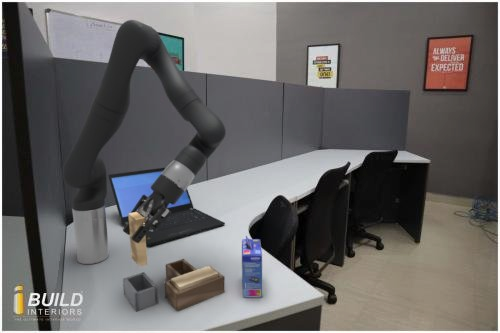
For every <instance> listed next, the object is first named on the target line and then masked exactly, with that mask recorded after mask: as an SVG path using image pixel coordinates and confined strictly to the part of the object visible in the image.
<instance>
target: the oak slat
mask: <svg viewBox="0 0 500 333" xmlns="http://www.w3.org/2000/svg"><path fill="white" fill-rule="evenodd" d="M128 217H129V229H130V235H129V240H130V242H129V243H130V253H131V254H130V256H131V259H132V260H133V261H134V262H135V264H137V266H138V267H142V266H145V265H148V254H147V251H148V250H147V245H146V236H144V237H143V238H142V240H141V241H140V242H139V243H136V242H135V241H133V240H132V239H131V237H132V236H133V234H134V233H135V232H136V231H137V230H138V228H139V227H140V226H142V223H143V221H144V217H142V216H141V215H140V214H139V213H137V212H133V213H128Z"/></svg>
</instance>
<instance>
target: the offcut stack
mask: <svg viewBox="0 0 500 333" xmlns="http://www.w3.org/2000/svg"><path fill="white" fill-rule="evenodd" d="M210 266H211V265H208V266H203V267H202V268H198V269H197V270H195V271H192V272H189V273H186V274H183V275H181V276H178V277H175V278H172V279H171V285H172V286H173V287H174V288H175V289H176V290H177V291H178V292H180V291H182V290H185V289H188V288H191V287H193V286H196V285H199V284H201V283H204V282H207V281H209V280H212V279H215V278H217V277H218V272H219V271H218V272H216V271H217V270H216V269H215V268H214V269H215V270H216V271H215V270H214V269H212V268H213V267H212V266H211V267H212V268H211V267H210Z"/></svg>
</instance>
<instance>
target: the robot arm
mask: <svg viewBox="0 0 500 333" xmlns="http://www.w3.org/2000/svg"><path fill="white" fill-rule="evenodd" d="M159 34H160V33H158V31H157V30H156V29H155V28H153V27H152V26H150V25H148V24H145V23H144V22H141V21H138V20H135V19H129V20H125V21H124V22H123V23H121V25H120V26H119V28H118V30H117V32H116V35H115V37H114V40H113V44H112V48H111V52H110V55H109V59H108V62H107V65H106V68H105V71H104V73H103V76H102V78H101V81H100V83H99V86H98V89H97V92H96V94H95V95H94V98H93V101H92V102H91V105H90V108H89V110H88V114H87V116H86V119H85V120H84V123H83V125H82V127H81V131H80V132H79V135H78V138H77V140H76V142H75V143H74V146H73V147H72V149H71V150H70V153H69V155H68V156H67V158H66V160H65V162H64V164H63V167H62V179H63V181H64V183H65V185H67V186H68V187H69V188H71V189H78V191H77V192H76V195H74V196H73V198H72V200H71V211H72V219H73V220H72V221H73V227H74V228H73V229H74V239H75V248H76V249H75V250H76V258H77V259H76V260H77V262H78V263H80V264H83V265H92V264H97V263H101V262H103V261H106V259H108V258H109V257H110V251H109V239H108V238H109V237H108V236H109V235H108V225H107V214H106V213H107V211H106V197H107V194H108V193H107V192H108V185H107V183H108V182H107V180H108V179H107V177H108V176H107V168H106V165H105V164H106V163H105V162H104V160H103V159H102V158H101V157H100V156H99V154H100V152H101V151H102V149H103V148H104V147H105V146H106V144H108V142H109V141H110V140H111V139H112V138H113V137H114V136H115V134H116V133H117V132H118V131H119V129H120V128H121V127H122V124H123V122H124V121H125V117H126V116H127V113H128V111H129V107H130V106H131V105H130V104H131V80H132V76H133V73H134V71H135V70H136V67H137V65H138V63H139V62H140V60H142V61H144V62H145V63H146V64H147V65H148V66H149V67H150V68H151V69H152V70H153V72H154V73H155V74H156V76H157V77H158V79H159V82H161V85H162V87H163V90H164V92H165V94H166V97H167V99H168V100H169V102H170V103H171V105H172V106H173V107H174V108H175V110H176V112H177V113H178V114H179V115H180V116H181V118H182V119H184V121H186V122H188V123H190V124H191V125H192V127H193V128H194V129H195V130H196V133H195V135H194V136H193V138H192V139H191V140H190V142H189V143H188V144H187V145H186V146H185V145H184V147H182V149H181V150H180V151H179V153H178V154H177V155H176V156H175V157H174V159H173V160H172V161H171V162H170V163H169V164H168V165H167V166H166V167H164V168H165V170H164V171H163V172H162V173H161V174H160V176H159V177H158V178H157V179H156V181H155V182H154V183H153V184H152V186H151V189H152V190H153V193H152V194H151V195H150V196H149V197H147V196H146V195H143V196H142V197H141V198H140V200H139V201H138V203H137V204H136V206H135V207H134V209H133V210H132V212H131V213H133V212H137V213H139V214H140V215H142V217H144V218H145V219H144V221H143V223H142V226H140V227H139V228H138V230H137V231H136V232H135V233H134V234H133V236H132V237H131V239H132V240H133V241H135V242H136V243H139V242H140V241H141V240H142V238H143V237H144V236H145V235H146V233H147V232H148V231H151V230H153V231H156V230H157V229H158V227H159V226H160V225H161V224H162V223H163V222H164V221H165V220H166V219H167V218H168V217H169V216H170V214H171V211H169V210H168V209H167V207H168V205H169V203H170V204H173V205H174V204H175V203H176V202H177V201H178V199H179V198H180V197H181V196H182V194H183V193H184V192H185V190H186V189H187V190H188V188H189V187H190V185H191V184H192V182H193V180H194V178H195V177H196V176H197V175H198V173H199V172H200V171H201V169H202V168H203V166H204V165H205V164H206V162H207V160H208V159H209V158H210V156H212V154H213V153H214V152H215V151H216V150H217V148H218V147H219V146H220V145H221V143H222V142H223V141H224V139H225V137H226V132H227V131H226V126H225V124H224V123H223V121H222V120H221V119H220V117H219V116H218V115H217V114H216V113H214V111H213V110H212V109H211V108H210V107H209V106H207V105H206V104H205V103H204V102H203V101H202V98H201V97H200V95H198V93H197V92H196V91H195V89H194V88H193V87H192V86H191V85H190V83H189V82H188V80H187V79H186V78H185V76H184V74H182V72H181V71H180V69H179V68H178V66H177V65H176V63H175V62H174V59H173V58H172V56H171V54H170V53H169V51H168V49H167V47H166V45H165V44H164V42H163V40H162V38H161V35H159ZM137 209H138V211H137ZM147 222H148V223H147ZM155 223H156V225H154V224H155ZM122 231H123V232H124V233H125V234H126V235H128V236H130V229H129V223H128V224H127V225H126V226H125V228H124V227H123V228H122Z"/></svg>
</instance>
